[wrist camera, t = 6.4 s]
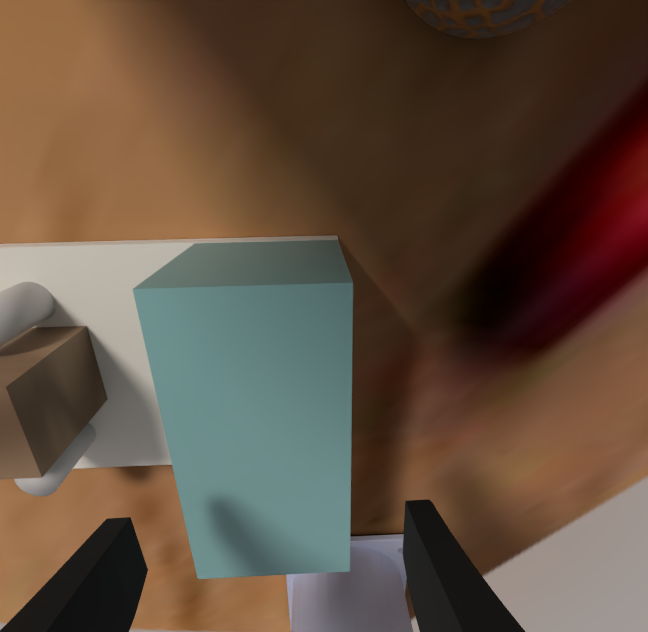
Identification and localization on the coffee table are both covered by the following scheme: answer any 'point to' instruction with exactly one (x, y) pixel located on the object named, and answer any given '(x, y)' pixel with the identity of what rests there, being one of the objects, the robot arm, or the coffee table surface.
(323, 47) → the coffee table surface
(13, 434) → the block
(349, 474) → the cover
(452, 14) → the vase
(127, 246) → the base plate
